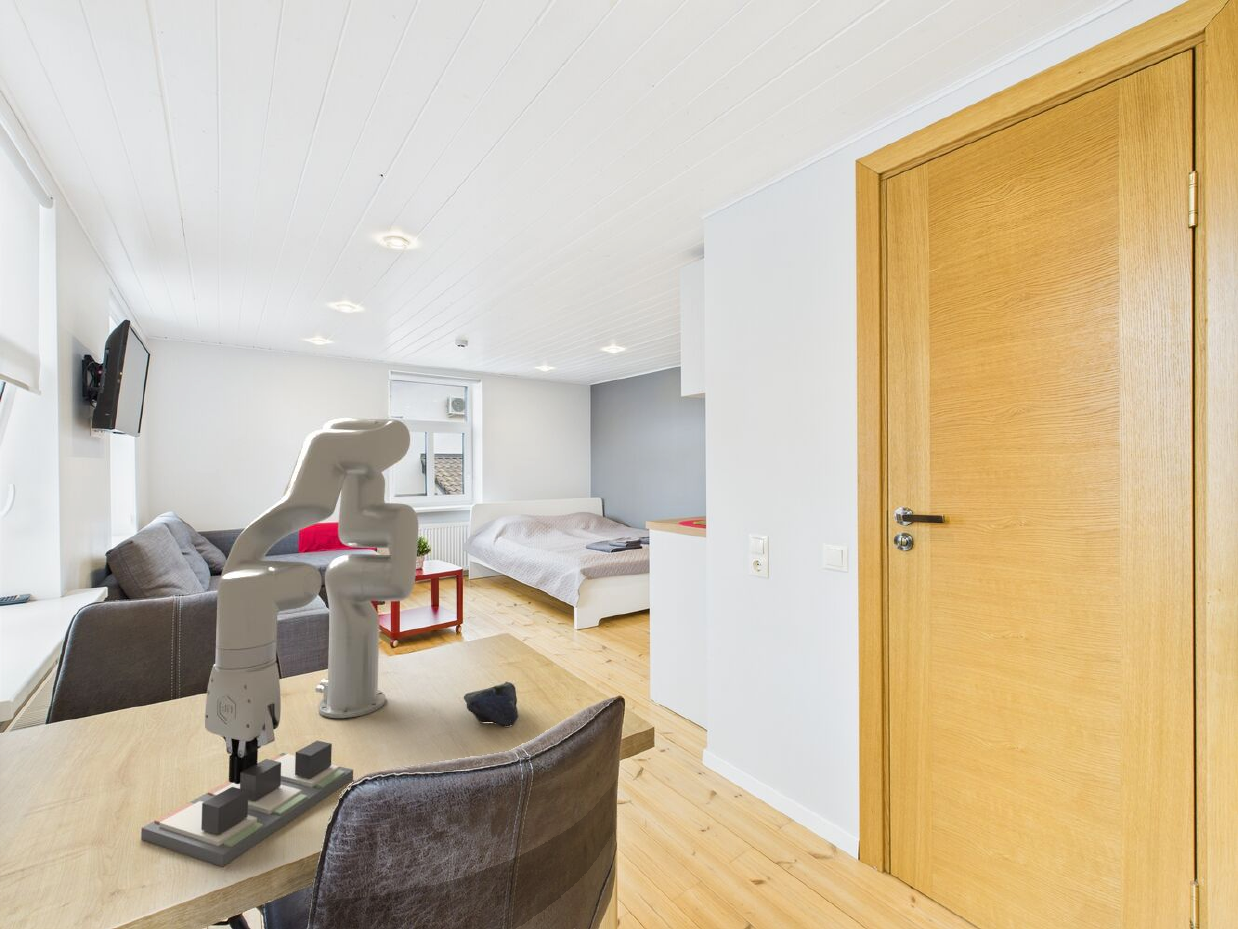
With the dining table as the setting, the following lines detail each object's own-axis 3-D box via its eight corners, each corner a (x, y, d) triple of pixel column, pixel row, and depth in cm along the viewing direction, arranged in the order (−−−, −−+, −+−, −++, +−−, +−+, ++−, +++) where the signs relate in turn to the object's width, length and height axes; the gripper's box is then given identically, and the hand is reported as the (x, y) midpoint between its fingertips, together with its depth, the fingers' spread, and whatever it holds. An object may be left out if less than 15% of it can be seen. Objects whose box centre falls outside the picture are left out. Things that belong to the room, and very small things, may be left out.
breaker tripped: (239, 796, 80) (240, 772, 80) (265, 782, 83) (266, 758, 83) (255, 801, 79) (255, 776, 79) (280, 786, 82) (281, 762, 82)
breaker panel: (141, 839, 74) (141, 823, 74) (282, 761, 94) (282, 749, 94) (222, 866, 69) (222, 850, 69) (353, 779, 89) (353, 766, 89)
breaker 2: (295, 775, 86) (295, 752, 86) (316, 762, 89) (317, 740, 89) (309, 778, 85) (310, 755, 85) (331, 765, 88) (331, 743, 88)
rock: (476, 742, 102) (529, 722, 106) (466, 696, 104) (518, 678, 108) (467, 734, 115) (514, 717, 120) (458, 694, 117) (505, 678, 122)
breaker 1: (201, 830, 72) (202, 803, 72) (231, 812, 76) (232, 786, 76) (217, 835, 71) (218, 807, 71) (247, 817, 75) (248, 791, 75)
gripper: (185, 655, 81) (181, 781, 81) (259, 669, 76) (255, 803, 76) (235, 641, 88) (232, 757, 88) (306, 653, 83) (303, 775, 83)
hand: (243, 778), depth 82 cm, fingers closed
